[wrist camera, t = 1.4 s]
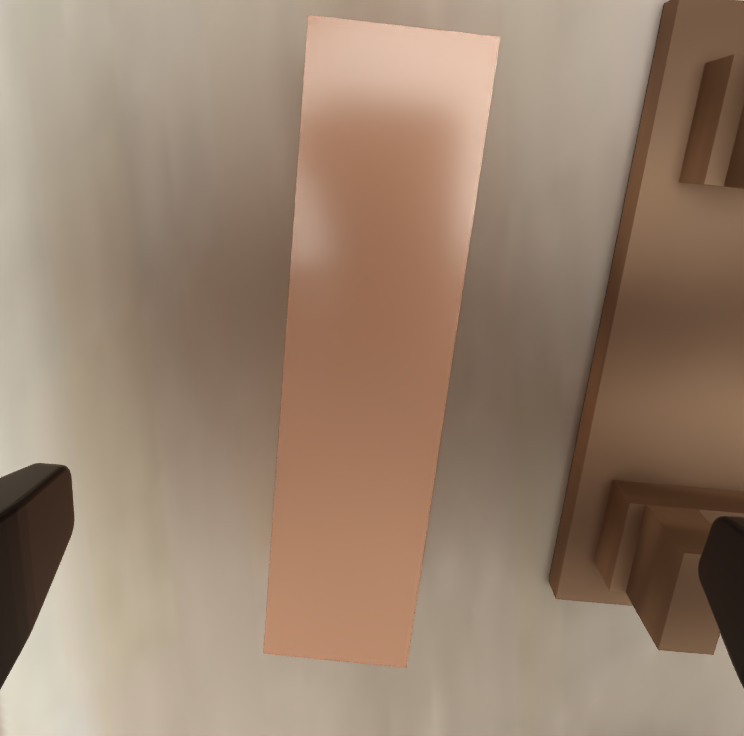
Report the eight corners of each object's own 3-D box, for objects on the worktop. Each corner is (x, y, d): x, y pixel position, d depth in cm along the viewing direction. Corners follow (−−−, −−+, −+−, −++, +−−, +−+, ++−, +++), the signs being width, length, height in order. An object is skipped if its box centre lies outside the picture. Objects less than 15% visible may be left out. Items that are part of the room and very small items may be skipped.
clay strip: (401, 563, 23) (406, 667, 18) (287, 552, 23) (263, 653, 18) (470, 69, 19) (500, 37, 14) (327, 53, 18) (307, 14, 14)
